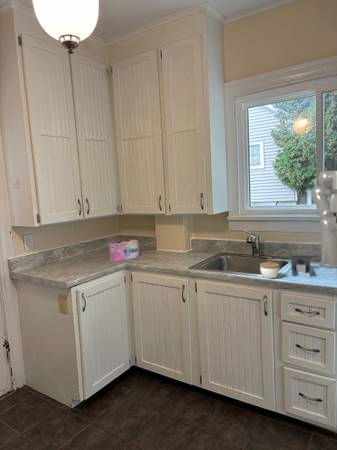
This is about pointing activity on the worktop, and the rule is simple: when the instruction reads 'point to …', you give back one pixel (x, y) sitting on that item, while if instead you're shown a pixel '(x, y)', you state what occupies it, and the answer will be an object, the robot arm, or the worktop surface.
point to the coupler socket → (301, 259)
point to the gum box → (123, 250)
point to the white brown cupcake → (269, 269)
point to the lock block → (301, 267)
